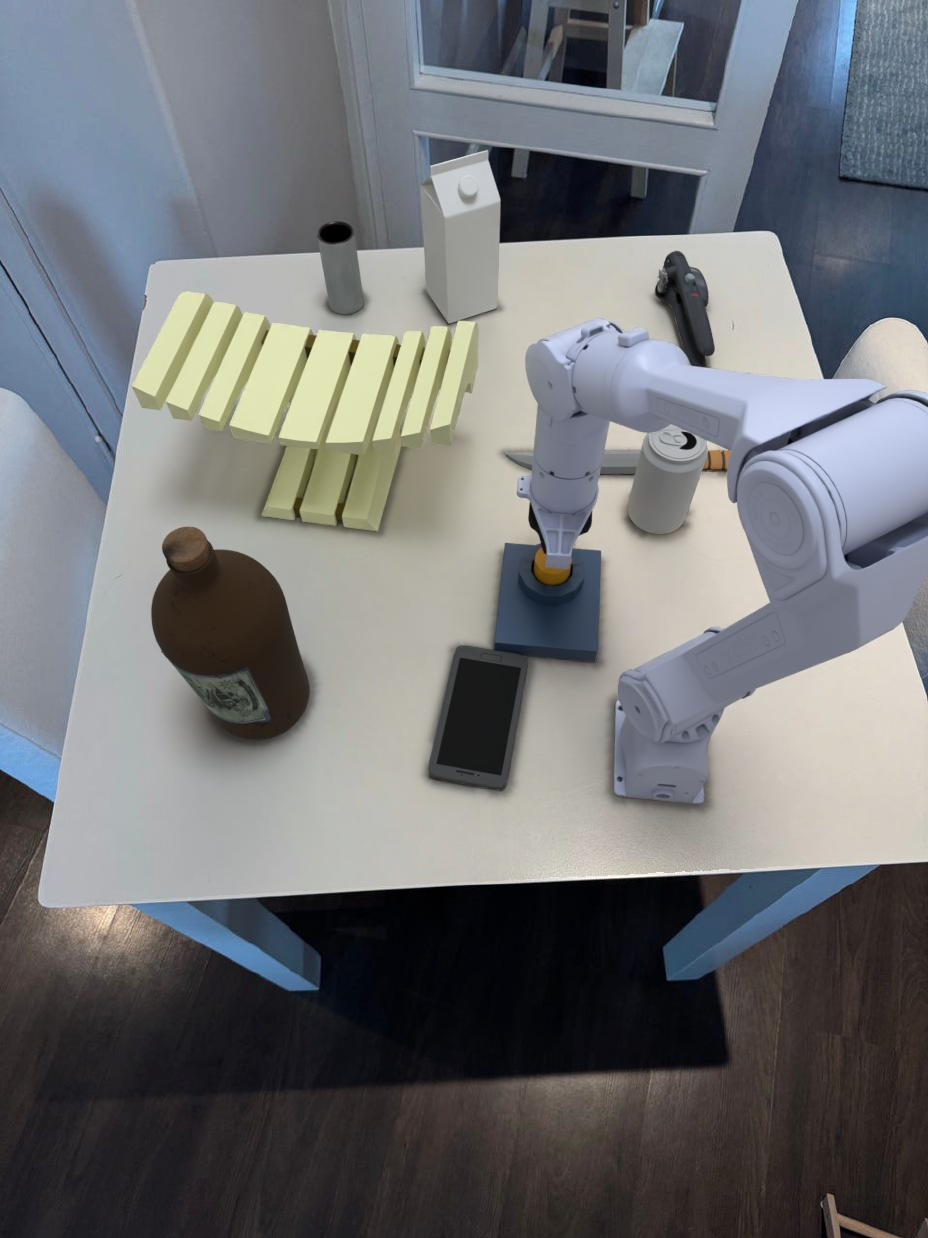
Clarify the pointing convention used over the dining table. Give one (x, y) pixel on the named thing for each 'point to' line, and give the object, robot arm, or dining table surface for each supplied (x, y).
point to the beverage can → (666, 479)
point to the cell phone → (479, 717)
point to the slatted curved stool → (312, 399)
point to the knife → (628, 460)
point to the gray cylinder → (340, 267)
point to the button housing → (548, 607)
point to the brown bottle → (229, 636)
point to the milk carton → (461, 236)
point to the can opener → (687, 306)
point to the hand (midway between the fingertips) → (554, 549)
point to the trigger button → (549, 571)
